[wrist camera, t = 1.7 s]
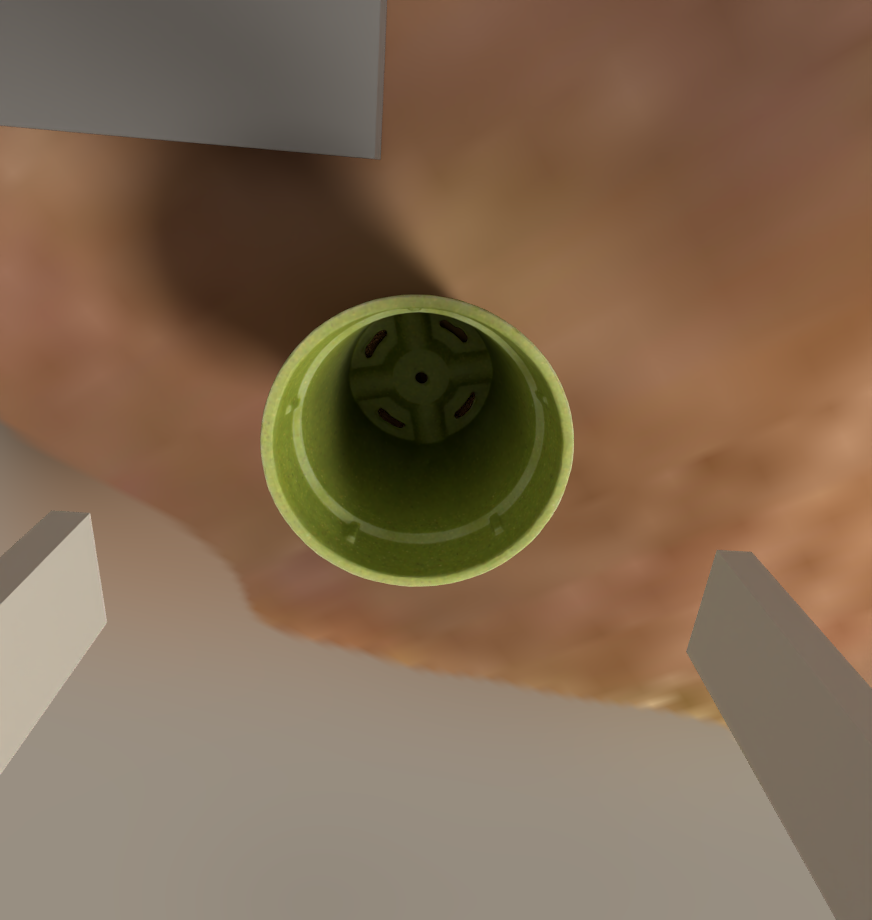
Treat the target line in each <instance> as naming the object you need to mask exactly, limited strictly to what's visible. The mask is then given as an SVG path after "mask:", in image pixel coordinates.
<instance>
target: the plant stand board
mask: <svg viewBox="0 0 872 920" xmlns="http://www.w3.org/2000/svg"><path fill="white" fill-rule="evenodd" d="M386 13H387V0H0V126H10V127H21V128H32V129H44V130H55V131H66V132H77V133H88V134H99V135H111V136H122V137H133V138H144V139H155V140H166V141H178V142H189V143H200V144H211V145H222V146H233V147H245V148H256V149H267V150H278V151H289V152H300V153H312V154H323V155H334V156H345V157H356V158H367V159H378V160H380V159H381V135H382V111H383V86H384V62H385V38H386Z"/></svg>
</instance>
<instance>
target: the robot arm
mask: <svg viewBox="0 0 872 920" xmlns="http://www.w3.org/2000/svg"><path fill="white" fill-rule="evenodd" d="M106 623H107V618H106V612H105V605H104V599H103V593H102V587H101V580H100V574H99V567H98V561H97V555H96V548H95V541H94V536H93V529H92V522H91V516H90V513H82V512H65V511H51V512H50V513H48V514H47V515H46V516H45V517H44V518H43V519H42V520H41V521H40V522H38V523H37V524H36V525H35V526H34V527H33V528H32V529H31V530H30V531H28V532H27V533H26V534H25V535H24V536H23V537H22V538H21V539H20V540H19V541H17V542H16V543H15V544H14V545H13V546H12V547H11V548H10V549H9V550H8V551H7V552H5V553H4V554H3V555H2V556H1V557H0V774H1V773H2V771H3V770H4V769H5V767H6V766H7V764H8V763H9V761H10V760H11V759H12V757H13V756H14V755H15V753H16V752H17V750H18V749H19V747H20V746H21V745H22V743H23V742H24V740H25V739H26V737H27V736H28V735H29V733H30V731H31V730H32V729H33V727H34V726H35V724H36V723H37V722H38V720H39V719H40V717H41V716H42V715H43V713H44V712H45V710H46V709H47V707H48V706H49V705H50V703H51V702H52V700H53V699H54V697H55V696H56V695H57V693H58V692H59V690H60V689H61V687H62V686H63V685H64V683H65V682H66V680H67V679H68V678H69V676H70V675H71V673H72V672H73V670H74V669H75V667H76V666H77V665H78V663H79V662H80V660H81V659H82V658H83V656H84V655H85V653H86V652H87V650H88V649H89V648H90V646H91V645H92V643H93V642H94V640H95V639H96V638H97V636H98V635H99V633H100V632H101V630H102V629H103V628H104V626H105V625H106ZM686 652H687V654H688V655H689V657H690V659H691V661H692V663H693V664H694V666H695V668H696V670H697V672H698V673H699V675H700V677H701V679H702V681H703V682H704V684H705V686H706V688H707V689H708V691H709V693H710V695H711V697H712V698H713V700H714V702H715V704H716V706H717V707H718V709H719V711H720V713H721V715H722V716H723V718H724V720H725V722H726V724H727V725H728V727H729V729H730V731H731V732H732V734H733V736H734V738H735V740H736V741H737V743H738V745H739V746H740V749H741V750H742V752H743V754H744V756H745V758H746V759H747V761H748V763H749V765H750V767H751V768H752V770H753V772H754V774H755V775H756V777H757V779H758V781H759V783H760V784H761V786H762V788H763V790H764V792H765V793H766V795H767V797H768V799H769V801H770V802H771V804H772V806H773V808H774V810H775V811H776V813H777V815H778V817H779V818H780V820H781V822H782V824H783V826H784V827H785V829H786V831H787V833H788V834H789V836H790V838H791V840H792V842H793V843H794V845H795V847H796V849H797V851H798V852H799V854H800V856H801V858H802V860H803V861H804V863H805V865H806V867H807V869H808V870H809V872H810V874H811V876H812V878H813V879H814V881H815V883H816V885H817V887H818V888H819V890H820V892H821V893H822V895H823V897H824V899H825V901H826V903H827V904H828V906H829V908H830V910H831V912H832V913H833V915H834V917H835V919H836V920H872V688H871V687H870V686H869V685H868V684H867V683H866V682H865V680H864V679H863V678H862V677H861V676H860V675H859V674H858V672H857V671H856V670H855V669H854V668H853V667H852V666H851V664H850V663H849V662H848V661H847V660H846V659H845V658H844V657H843V655H842V654H841V653H840V652H839V651H838V650H837V649H836V647H835V646H834V645H833V644H832V643H831V642H830V641H829V639H828V638H827V637H826V636H825V635H824V634H823V633H822V632H821V630H820V629H819V628H818V627H817V626H816V625H815V624H814V622H813V621H812V620H811V619H810V618H809V617H808V616H807V614H806V613H805V612H804V611H803V610H802V609H801V608H800V606H799V605H798V604H797V603H796V602H795V601H794V600H793V599H792V597H791V596H790V595H789V594H788V593H787V592H786V591H785V589H784V588H783V587H782V586H781V585H780V584H779V583H778V581H777V580H776V579H775V578H774V577H773V576H772V575H771V574H770V572H769V571H768V570H767V569H766V568H765V567H764V566H763V564H762V563H761V562H760V561H759V560H758V559H757V558H756V556H755V555H754V554H753V553H752V552H743V551H726V550H717V551H716V555H715V558H714V561H713V565H712V568H711V571H710V575H709V578H708V581H707V585H706V588H705V591H704V595H703V598H702V601H701V605H700V608H699V611H698V615H697V618H696V621H695V625H694V628H693V631H692V634H691V638H690V641H689V644H688V648H687V651H686Z"/></svg>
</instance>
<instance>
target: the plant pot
mask: <svg viewBox="0 0 872 920" xmlns="http://www.w3.org/2000/svg"><path fill="white" fill-rule="evenodd" d="M442 320H447V321H448V322H449V323H450V324H452V325H453V326H454V327H458V328H461V329H462V330H463V331H464V333H465V334H466V335H467V337H468V338H467V342H462V341H461V340H460V339H459V338H458V337H456V336H455V335H454V334H453V333H452V332H450V331H449V330H447V329H445V328H443V327H441V326H440V323H439V322H440V321H442ZM382 330H385V331H386V332H387V336H386V337H385V338H384V339H383V340H382V341H381V342H380V343H379V344H378V346H377V347H376V349H375V350H374V353H373V355H372V357H370V358H367V357H366V355H365V349H366V347H367V345H368V344H369V343H370V342H371V340H372V339H373V337H374V336H375V335H376V334H377V333H378V332H379V331H382ZM419 372H423V373H424V374H426V375H427V378H428V380H427V381H426V382H425V383H422V384H421V383H419V382H417V380H416V379H415V376H416V374H417V373H419ZM473 392H474V393H475V399H474V402H473V404H472V406H471V408H470V410H469V411H468V412H467V413H466V414H465V415H464V416H462V417H459V418H456V417H455V416H454V413H455V412H456V411H457V410H459V408H460V407H461V406H462V405H463V404H464V403H465V402H466V401H467V398H468V397H470V396H471V393H473ZM379 408H382V409H383V410H385V411H386V412H387V413H388V414H390V416H392V417H393V418H395V419H397V420H398V421H400V422H402V423H404V424H405V426H404V427H401V428H398V427H395V426H393V425H392V424H390V423H388V422H386V421H385V420H383V419H382V418H381V417H380V416H379V413H378V410H379ZM260 443H261V458H262V464H263V469H264V474H265V478H266V481H267V486H268V489H269V491H270V493H271V496H272V498H273V500H274V502H275V504H276V506H277V508H278V510H279V512H280V513H281V515H282V516H283V518H284V519H285V521H286V522H287V523H288V525H289V526H290V527H291V528H292V530H293V531H294V532H295V533H296V534H297V535H298V536H299V537H300V538H301V539H302V541H303V542H304V543H305V544H306V545H307V546H308V547H310V548H311V549H312V550H313V551H314V552H315V553H317V554H318V555H320V556H321V557H322V558H324V559H326V560H327V561H329V562H331V563H332V564H334V565H336V566H338V567H339V568H341V569H343V570H345V571H347V572H349V573H351V574H354V575H357V576H359V577H362V578H365V579H368V580H373V581H377V582H381V583H386V584H392V585H400V586H410V587H412V586H436V585H443V584H450V583H454V582H458V581H462V580H465V579H469V578H472V577H475V576H478V575H480V574H483V573H485V572H487V571H489V570H492V569H494V568H496V567H497V566H499V565H501V564H502V563H504V562H506V561H507V560H509V559H510V558H512V557H513V556H514V555H516V554H517V553H518V552H520V551H521V550H522V549H524V548H525V547H526V546H527V545H528V544H529V543H530V542H532V541H533V539H534V538H535V537H536V536H537V535H538V534H539V533H540V531H541V530H542V529H543V527H544V526H545V524H546V523H547V522H548V521H549V519H550V518H551V516H552V515H553V514H554V511H555V510H556V508H557V506H558V505H559V503H560V501H561V498H562V496H563V494H564V490H565V488H566V485H567V482H568V478H569V475H570V471H571V467H572V461H573V452H574V431H573V423H572V417H571V412H570V407H569V404H568V401H567V398H566V395H565V392H564V390H563V387H562V385H561V383H560V381H559V379H558V377H557V375H556V373H555V371H554V370H553V368H552V367H551V365H550V364H549V362H548V361H547V359H546V358H545V357H544V356H543V354H542V353H541V352H540V351H539V349H538V348H537V347H536V346H535V345H534V344H533V343H532V342H531V341H530V340H529V339H528V338H527V337H525V336H524V335H523V334H522V333H521V332H520V331H518V330H517V329H516V328H515V327H513V326H512V325H510V324H509V323H508V322H506V321H505V320H503V319H501V318H500V317H498V316H496V315H494V314H492V313H491V312H489V311H487V310H485V309H482V308H480V307H478V306H475V305H472V304H469V303H466V302H464V301H460V300H456V299H452V298H446V297H440V296H434V295H417V294H416V295H397V296H390V297H384V298H378V299H375V300H371V301H368V302H365V303H362V304H359V305H356V306H354V307H352V308H349V309H347V310H345V311H343V312H340V313H339V314H337V315H335V316H334V317H332V318H330V319H329V320H327V321H326V322H324V323H323V324H321V325H320V326H319V327H317V328H316V329H315V330H313V331H312V332H311V333H310V334H309V335H308V336H307V337H306V338H305V339H304V340H303V341H302V342H301V343H300V344H299V345H298V346H297V347H296V348H295V349H294V351H293V352H292V353H291V354H290V356H289V357H288V358H287V360H286V361H285V363H284V364H283V366H282V368H281V369H280V371H279V373H278V375H277V376H276V378H275V380H274V382H273V385H272V387H271V389H270V392H269V395H268V398H267V401H266V404H265V408H264V412H263V419H262V426H261V437H260Z"/></svg>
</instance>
